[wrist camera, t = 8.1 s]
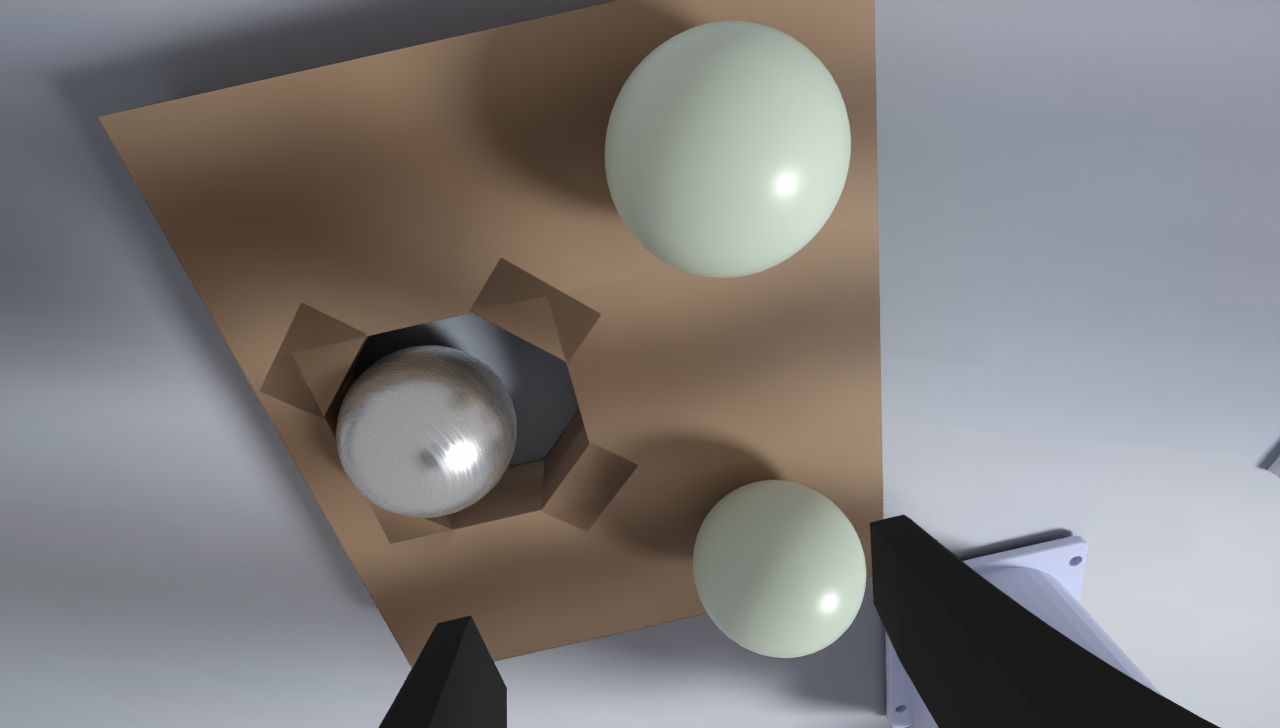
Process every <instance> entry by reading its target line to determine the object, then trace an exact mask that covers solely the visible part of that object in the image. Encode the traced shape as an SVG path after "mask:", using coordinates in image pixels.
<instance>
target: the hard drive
mask: <svg viewBox="0 0 1280 728" xmlns="http://www.w3.org/2000/svg"><path fill="white" fill-rule="evenodd" d="M1268 471H1270V472H1272V473H1273V474H1275V475H1276V476H1278V477H1279V478H1280V456H1279V457H1278V458H1277V459H1276V460H1275V462H1274V463H1273V464H1272V465H1271V466H1270V467H1269V469H1268Z"/></svg>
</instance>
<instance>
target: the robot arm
mask: <svg viewBox="0 0 1280 728" xmlns="http://www.w3.org/2000/svg"><path fill="white" fill-rule="evenodd" d="M870 539H871V558H872V577H873V596H874V605H875V607H876V609H877V611H878V614H879V616H880V618H881V621H882V623H883V625H884V627H885V637H886V696H887V719H888V721H889V724H890V726H891V727H893V728H904V727H909V726H913V725H914V727H915V728H1220V727H1218V726H1216V725H1214V724H1212V723H1210V722H1208V721H1206V720H1205V719H1203V718H1201V717H1199V716H1197V715H1196V714H1194V713H1192V712H1190V711H1188V710H1187V709H1185V708H1183V707H1181V706H1179V705H1178V704H1176V703H1174V702H1172V701H1171V700H1169V699H1167V698H1165V697H1164V696H1163V695H1162V694H1161V693H1160V692H1159V691H1158V690H1157V689H1156V688H1155V686H1154V685H1153V684H1152V683H1151V682H1150V681H1149V680H1148V679H1147V678H1146V676H1145V675H1144V674H1143V673H1142V672H1141V671H1140V670H1139V669H1138V668H1137V667H1136V665H1135V664H1134V663H1133V662H1132V661H1131V660H1130V659H1129V658H1128V657H1127V655H1126V654H1125V653H1124V652H1123V651H1122V650H1121V649H1120V648H1119V647H1118V646H1117V644H1116V643H1115V642H1114V641H1113V640H1112V639H1111V638H1110V637H1109V636H1108V634H1107V633H1106V632H1105V631H1104V630H1103V629H1102V628H1101V627H1100V626H1099V624H1098V623H1097V622H1096V621H1095V620H1094V619H1093V618H1092V617H1091V616H1090V615H1089V613H1088V612H1087V611H1086V610H1085V609H1084V608H1083V607H1082V606H1081V605H1080V603H1079V597H1080V592H1081V587H1082V582H1083V577H1084V571H1085V566H1086V561H1087V556H1088V551H1089V545H1088V543H1087V542H1086V541H1085V540H1084V539H1083V538H1082V537H1080V536H1070V537H1066V538H1061V539H1057V540H1053V541H1048V542H1044V543H1039V544H1035V545H1030V546H1026V547H1022V548H1017V549H1013V550H1008V551H1004V552H999V553H995V554H991V555H986V556H982V557H977V558H973V559H969V560H964V561H962V560H960V559H959V558H958V557H957V556H955V555H954V554H953V553H952V552H950V551H949V550H948V549H947V548H945V547H944V546H943V545H942V544H940V543H939V542H938V541H937V540H935V539H934V538H933V537H932V536H931V535H929V534H928V533H927V532H926V531H924V530H923V529H922V528H921V527H920V526H918V525H917V524H916V523H915V522H913V521H912V520H911V519H910V518H908V517H907V516H905V515H900V516H896V517H892V518H887V519H883V520H879V521H875V522H870ZM379 728H507V688H506V686H505V684H504V682H503V680H502V678H501V676H500V674H499V672H498V670H497V667H496V665H495V663H494V661H493V659H492V657H491V655H490V653H489V651H488V649H487V647H486V645H485V643H484V641H483V639H482V637H481V635H480V633H479V631H478V629H477V627H476V625H475V623H474V620H473V618H472V616H471V615H470V616H466V617H462V618H458V619H453V620H449V621H445V622H440V623H437V625H436V626H435V628H434V629H433V631H432V633H431V635H430V637H429V638H428V640H427V642H426V644H425V646H424V647H423V649H422V651H421V653H420V655H419V657H418V658H417V660H416V662H415V664H414V666H413V668H412V669H411V671H410V673H409V675H408V677H407V679H406V680H405V682H404V684H403V686H402V687H401V689H400V691H399V693H398V695H397V696H396V698H395V700H394V702H393V704H392V705H391V707H390V709H389V711H388V712H387V714H386V716H385V717H384V719H383V721H382V723H381V724H380V726H379Z"/></svg>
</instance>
